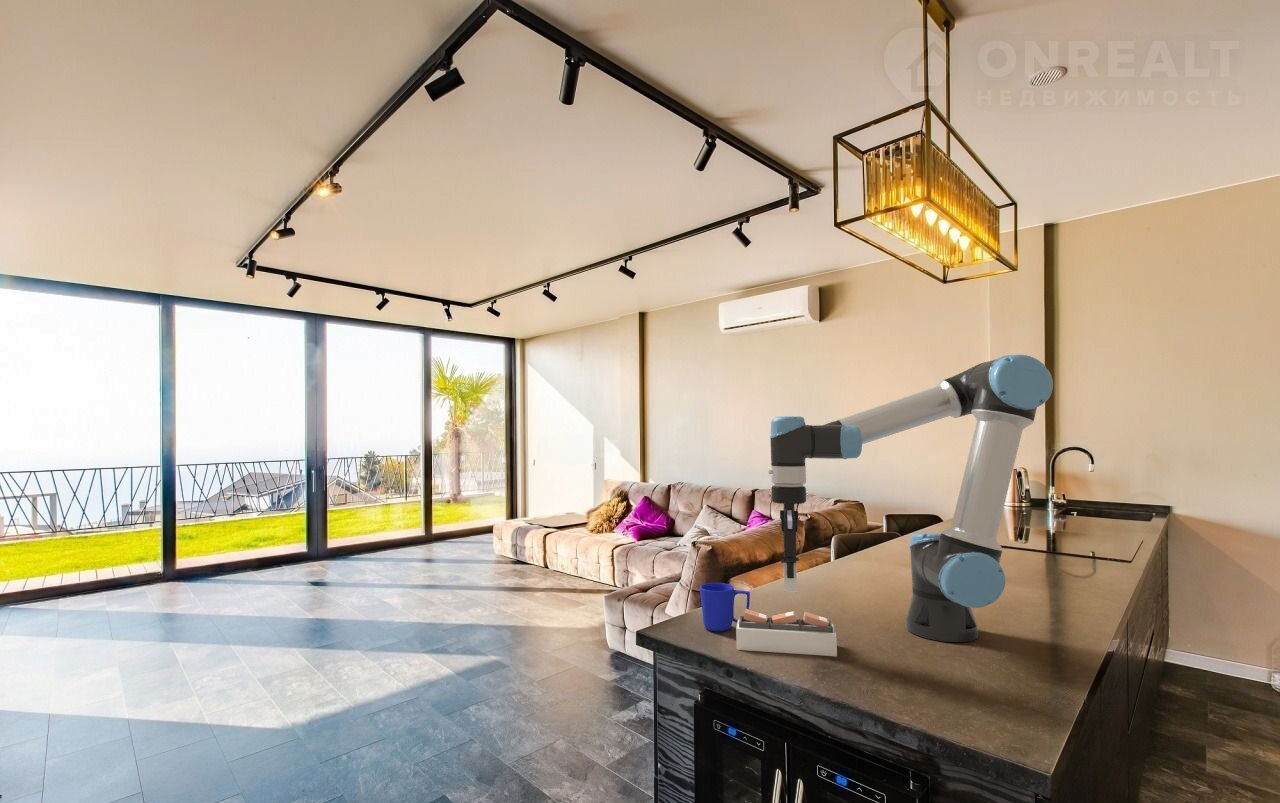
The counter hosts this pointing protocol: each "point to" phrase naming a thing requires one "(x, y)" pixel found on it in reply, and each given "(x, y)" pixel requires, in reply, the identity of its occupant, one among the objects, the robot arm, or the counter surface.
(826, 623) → the orange rectangular block
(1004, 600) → the counter surface
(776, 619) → the block
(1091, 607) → the counter surface
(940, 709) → the counter surface
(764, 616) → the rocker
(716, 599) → the mug
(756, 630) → the white rack
